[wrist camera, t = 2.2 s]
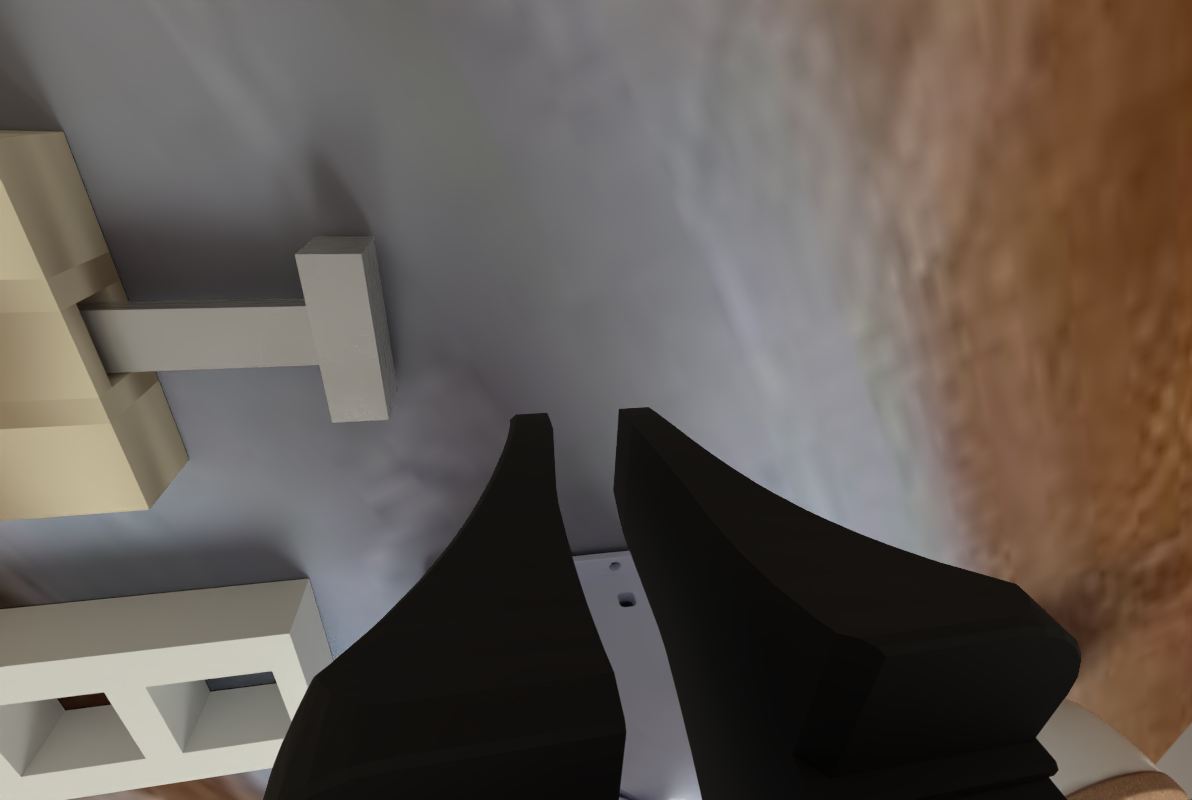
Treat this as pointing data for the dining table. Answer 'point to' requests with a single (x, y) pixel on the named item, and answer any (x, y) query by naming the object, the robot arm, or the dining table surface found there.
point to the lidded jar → (1101, 760)
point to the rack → (152, 687)
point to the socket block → (67, 353)
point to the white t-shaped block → (270, 330)
